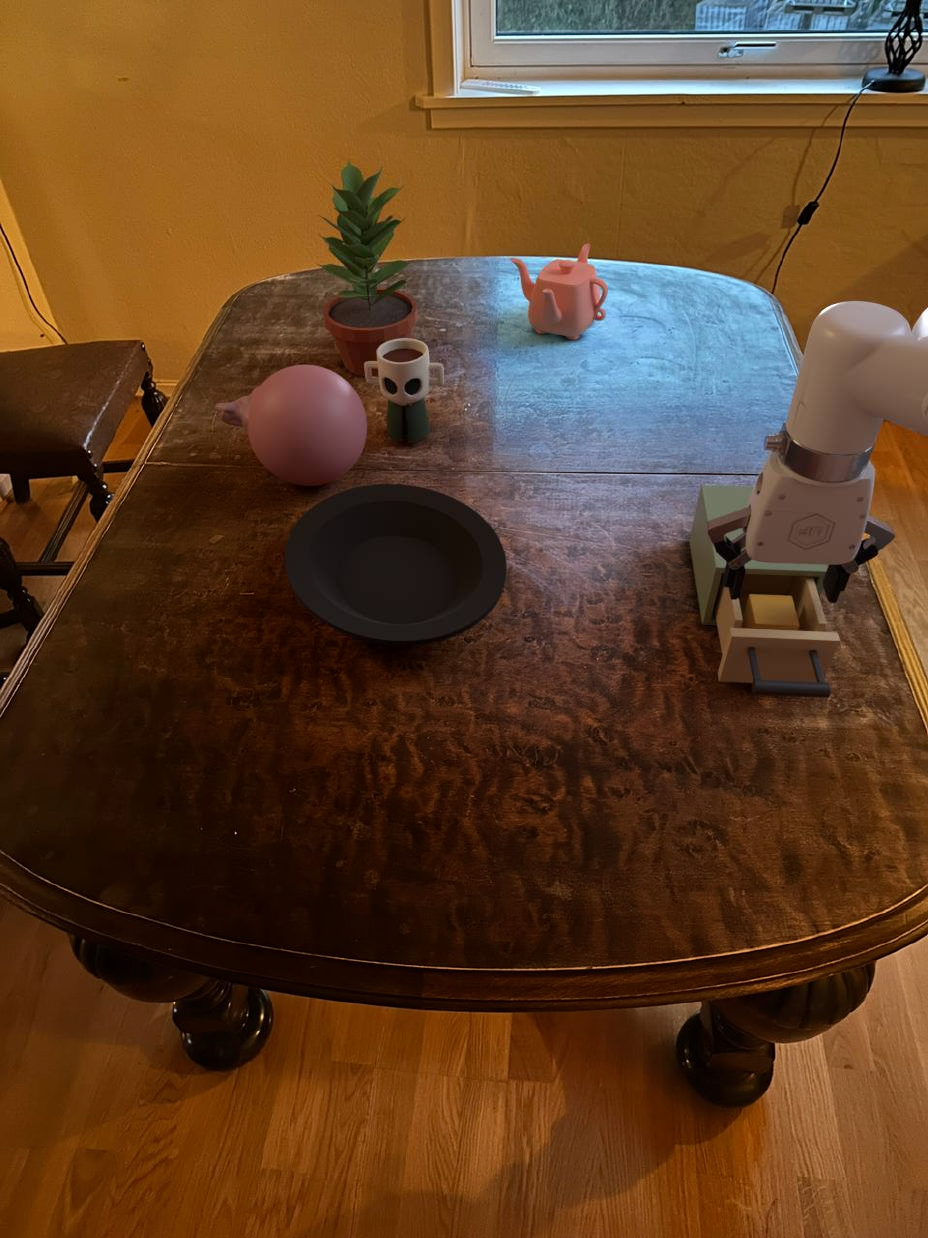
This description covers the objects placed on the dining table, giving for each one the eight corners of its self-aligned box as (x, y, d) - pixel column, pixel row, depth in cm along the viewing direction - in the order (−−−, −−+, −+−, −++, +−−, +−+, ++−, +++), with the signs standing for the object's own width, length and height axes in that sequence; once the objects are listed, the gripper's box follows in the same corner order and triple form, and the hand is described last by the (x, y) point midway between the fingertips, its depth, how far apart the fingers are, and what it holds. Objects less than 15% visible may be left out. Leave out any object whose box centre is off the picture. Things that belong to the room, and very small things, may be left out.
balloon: (254, 433, 128) (231, 334, 117) (386, 449, 124) (376, 348, 113) (208, 497, 117) (179, 394, 106) (351, 516, 114) (337, 412, 103)
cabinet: (808, 629, 98) (829, 571, 92) (702, 625, 99) (715, 567, 93) (785, 544, 108) (802, 487, 102) (689, 540, 109) (700, 484, 103)
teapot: (541, 354, 143) (544, 287, 135) (508, 316, 152) (508, 252, 144) (622, 337, 146) (629, 271, 138) (584, 301, 155) (589, 238, 148)
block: (782, 625, 96) (791, 595, 92) (789, 654, 92) (799, 625, 89) (740, 623, 96) (749, 593, 93) (746, 653, 93) (755, 623, 90)
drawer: (833, 730, 87) (853, 685, 82) (726, 725, 88) (739, 680, 83) (797, 596, 100) (812, 550, 95) (704, 592, 101) (715, 547, 96)
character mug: (367, 446, 125) (357, 362, 116) (375, 419, 130) (366, 336, 121) (443, 449, 124) (440, 364, 115) (449, 421, 129) (445, 338, 120)
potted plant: (345, 334, 149) (321, 139, 127) (431, 344, 146) (421, 146, 124) (311, 378, 139) (279, 175, 117) (403, 390, 135) (387, 183, 114)
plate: (551, 622, 99) (553, 585, 95) (362, 712, 91) (357, 676, 87) (425, 496, 116) (423, 460, 112) (256, 562, 108) (247, 526, 104)
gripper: (729, 471, 75) (697, 614, 87) (940, 476, 74) (877, 621, 86) (718, 423, 81) (689, 564, 93) (915, 427, 79) (859, 570, 91)
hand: (780, 591), depth 89 cm, fingers open, 9 cm apart
